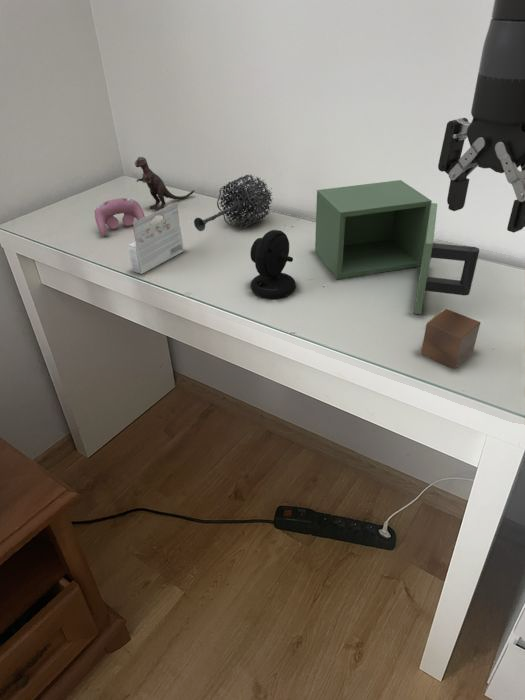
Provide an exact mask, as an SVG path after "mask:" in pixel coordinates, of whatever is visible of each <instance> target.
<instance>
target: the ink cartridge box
mask: <svg viewBox="0 0 525 700" xmlns="http://www.w3.org/2000/svg"><path fill="white" fill-rule="evenodd" d="M156 216H162V219H160V220H158V221H155V222H154V223H151V222H152V221H153V220H154V219H155V217H156ZM132 228H133V235H134V241H133V242H132V243H129V244H128V245H127V248H128V253H129V257H130V258H129V259H130V262H131V267H132V272H134V273H137V274H139V275H143V274H144V273H146V272H149V271H150V270H153V269H154V268H156V267H158V266H159V265H161V264H164V263H165V262H167V261H168V260H171V259H172V258H174V257H177V256H178V255H180V254H181V253H184V251H185V249H184V248H185V247H184V243H183V237H182V230H181V225H180V214H179V205H178V201H175V202H174V203H171V204H169V205H167V206H164V208H163V209H161V210H159V211H155V212H152V213H150V214H147V215H145V217H143V218H141V219H139V220H138V219H136V220H134V222H133V224H132Z"/></svg>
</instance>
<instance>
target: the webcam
mask: <svg viewBox="0 0 525 700" xmlns="http://www.w3.org/2000/svg"><path fill="white" fill-rule="evenodd" d="M289 254H290V241H289V238H288V236H287V234H286V233H285V232H283V230H279V229H271V230H269V231H267V232H266V233H264V235H263V236H262V237H258V238H257V239H255V240H254V241H253V243H252V245H251V248H250V259H251V261H252V262H253V263H254V266H255V269H256V272H257V273H258V275H256V276H255V277H253V279H252V280H251V282H250V289H251V291H252V293H253V294H255V295H256V296H258V297H260V298H263V299H269V300H270V299H274V300H275V299H281V298H284V297H287V296H290V295H291V294H292V293H294V291H295V290H296V287H297V283H296V280H295V278H294V277H293V276H291V275H289V274H287V273H285V272H283V270H284V269H285V267H286V265H287V262H289V263H292V262H293V261H294V257H291V256H289ZM261 284H267V285H270V286H272V287H274V288H275V289H267V288H263V287H262V286H260V285H261Z"/></svg>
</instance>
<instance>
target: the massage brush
mask: <svg viewBox="0 0 525 700" xmlns="http://www.w3.org/2000/svg"><path fill="white" fill-rule="evenodd" d="M254 177H255V175H252V174H245V175H244V176H241V177H238V178H236V179H234V180H232V181H228V183H226V184H225V185H223V186H222V187H221V188H220V189H219V196H218V198H217V201H216V206H217V208H218V210H219V211H218V212H217V214H214V215H212V216H209V217H207V218H204V219H202V218H201V217H195V218H194V220H193V224H194V227H195V229H196V230H197V231H198V232H203V231H204V230H205V229H206V225H207V223H209V222H211V221H214V220H216V219H217V218H219V217H221V216H222V217H223V220H224V222H225V223H226V224H227V225H229V226H233V227H235V228H237V229H239V230H241V229H244V228H247V227H250V226H251V225H253V224H255V223H257V222H259V221H261V220H263V219H264V218H266V217H267V216H268V215H270V210H271V207H272V206H271V204H273V200H274V198H273V197H272V196H273V192H272V191H271V190H272V189H273V188H272V187H270V189H269V186H268V184H267V182H264V180H261V178H262V177H258V176H256V177H255V178H254ZM219 201H220V202H219ZM221 208H222V209H221Z"/></svg>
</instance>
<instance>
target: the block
mask: <svg viewBox="0 0 525 700" xmlns="http://www.w3.org/2000/svg"><path fill="white" fill-rule="evenodd" d="M480 327H481V321H480V320H476V319H474V318H471V317H468V316H466V315H464V314H461V313H458V312H455V311H453V310H451V309H449V308H445V309H443V310H442V311H441V312H439V313H438V314H437V315H435V316H434V317H433V318H432V319H430V320H429V321H427V322H426V324H425V329H424V333H423V334H424V335H423V339H422V345H421V351H420V355H422V356H425V357H426V358H429V359H431V360H433V361H436V362H438V363H440V364H442V365H444V366H446V367H449V368H451V369H452V370H455V369H456V368H458V367H459V366H460V365H461V364H462V363H463V362H464V361H465V360H466V359H468V358H469V357H470V356H471V355H472V354H474V350H475V347H476V342H477V339H478V336H479V335H478V334H479V330H480Z"/></svg>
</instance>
